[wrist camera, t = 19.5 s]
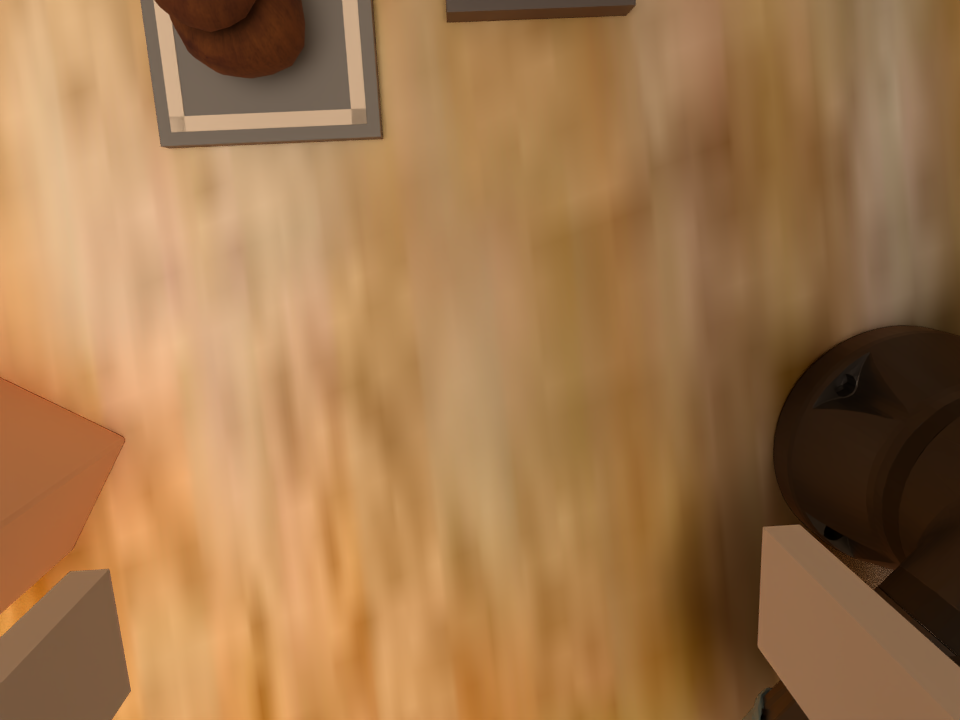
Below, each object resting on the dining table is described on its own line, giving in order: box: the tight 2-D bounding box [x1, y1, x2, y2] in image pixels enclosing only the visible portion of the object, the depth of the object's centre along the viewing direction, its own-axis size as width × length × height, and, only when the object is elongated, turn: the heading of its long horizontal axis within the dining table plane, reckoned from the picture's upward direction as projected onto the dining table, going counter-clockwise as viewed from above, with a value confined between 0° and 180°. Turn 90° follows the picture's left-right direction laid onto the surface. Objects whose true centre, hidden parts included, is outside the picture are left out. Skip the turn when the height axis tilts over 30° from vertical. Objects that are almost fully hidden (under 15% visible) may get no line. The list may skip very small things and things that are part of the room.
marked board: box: [141, 0, 383, 148], centre depth 37 cm, size 12×12×1 cm
